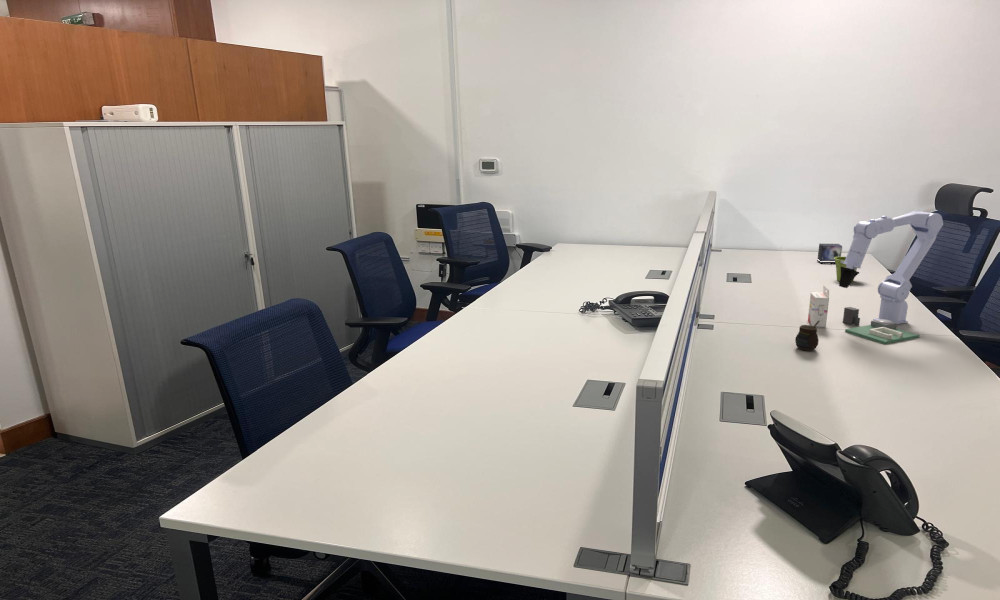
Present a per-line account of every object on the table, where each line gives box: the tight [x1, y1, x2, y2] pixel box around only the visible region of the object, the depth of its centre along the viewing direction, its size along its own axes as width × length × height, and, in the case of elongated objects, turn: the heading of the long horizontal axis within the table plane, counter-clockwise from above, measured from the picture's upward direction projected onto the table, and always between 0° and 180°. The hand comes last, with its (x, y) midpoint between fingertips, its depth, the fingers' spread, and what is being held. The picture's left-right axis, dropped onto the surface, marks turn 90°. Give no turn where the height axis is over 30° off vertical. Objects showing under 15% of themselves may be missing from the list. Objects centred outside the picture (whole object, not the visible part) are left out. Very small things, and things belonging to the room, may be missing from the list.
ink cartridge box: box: [807, 284, 830, 328], centre depth 250 cm, size 9×5×15 cm, turn 168°
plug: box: [842, 306, 861, 327], centre depth 250 cm, size 3×6×6 cm, turn 23°
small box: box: [816, 243, 843, 264], centre depth 360 cm, size 11×6×10 cm, turn 81°
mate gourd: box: [794, 321, 819, 352], centre depth 222 cm, size 7×8×10 cm
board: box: [844, 319, 920, 345], centre depth 237 cm, size 18×16×3 cm
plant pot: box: [834, 256, 858, 283], centre depth 318 cm, size 12×12×11 cm
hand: (843, 287), depth 245 cm, fingers open, 7 cm apart
